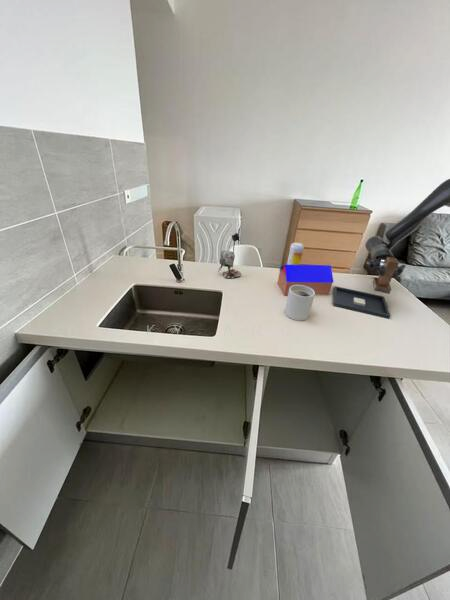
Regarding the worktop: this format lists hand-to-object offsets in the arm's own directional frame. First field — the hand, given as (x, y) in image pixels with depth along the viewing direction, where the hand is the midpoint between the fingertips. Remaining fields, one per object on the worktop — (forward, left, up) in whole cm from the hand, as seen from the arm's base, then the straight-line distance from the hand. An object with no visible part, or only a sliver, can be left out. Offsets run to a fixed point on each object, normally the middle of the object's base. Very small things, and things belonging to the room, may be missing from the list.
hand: (388, 274), depth 87 cm
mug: (+27, +15, -16) cm, 35 cm away
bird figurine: (+62, -3, -16) cm, 64 cm away
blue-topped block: (+28, -5, -16) cm, 33 cm away
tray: (+5, -3, -16) cm, 17 cm away
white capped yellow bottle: (+35, -20, -16) cm, 43 cm away
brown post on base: (0, -3, -7) cm, 7 cm away
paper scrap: (+5, -3, -15) cm, 16 cm away
